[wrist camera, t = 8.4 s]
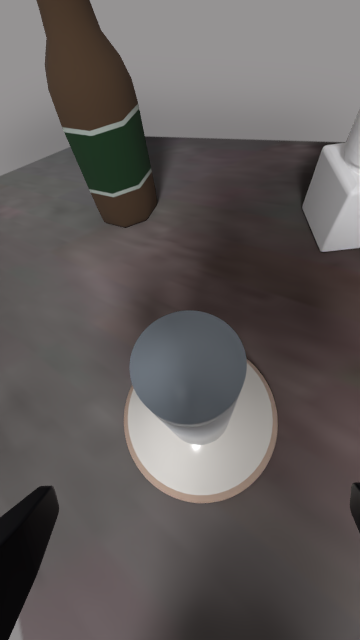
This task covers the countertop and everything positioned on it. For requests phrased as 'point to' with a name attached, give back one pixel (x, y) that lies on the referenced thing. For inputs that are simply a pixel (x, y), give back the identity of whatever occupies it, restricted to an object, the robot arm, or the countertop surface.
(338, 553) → the countertop surface
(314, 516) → the countertop surface
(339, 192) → the medicine bottle
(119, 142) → the beer bottle
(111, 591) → the countertop surface
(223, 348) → the grey-topped white cylinder
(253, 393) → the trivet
